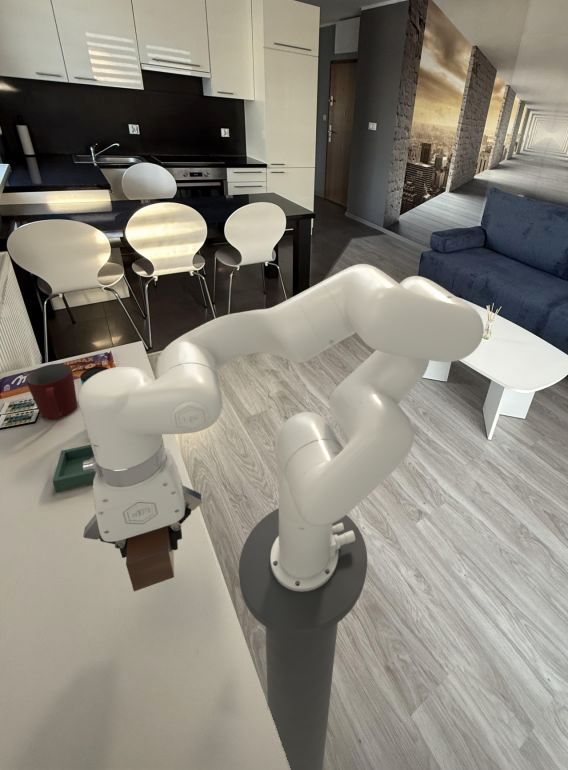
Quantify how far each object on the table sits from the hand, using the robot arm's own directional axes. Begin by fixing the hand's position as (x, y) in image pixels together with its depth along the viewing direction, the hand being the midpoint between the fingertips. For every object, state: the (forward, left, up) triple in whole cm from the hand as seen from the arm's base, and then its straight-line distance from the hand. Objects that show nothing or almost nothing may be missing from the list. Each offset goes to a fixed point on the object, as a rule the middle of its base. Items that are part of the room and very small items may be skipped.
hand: (154, 547), depth 58 cm
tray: (+12, -33, -13) cm, 37 cm away
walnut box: (0, 0, -1) cm, 1 cm away
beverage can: (+12, -47, -13) cm, 50 cm away
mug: (+23, -55, -13) cm, 61 cm away
